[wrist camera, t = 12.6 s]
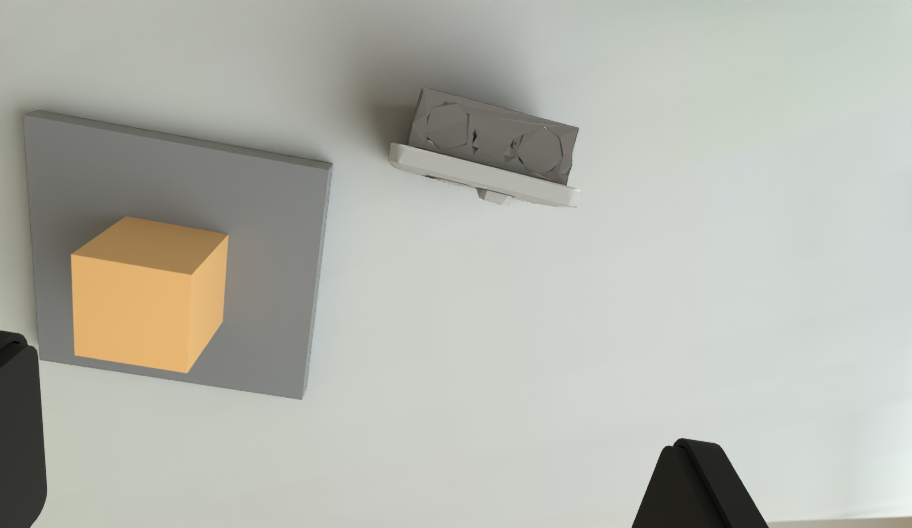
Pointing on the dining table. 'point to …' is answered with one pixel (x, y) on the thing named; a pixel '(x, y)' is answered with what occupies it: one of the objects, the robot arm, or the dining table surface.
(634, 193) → the dining table surface
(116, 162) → the plate
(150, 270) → the tan cardboard cube
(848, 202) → the dining table surface
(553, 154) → the electrical switch
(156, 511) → the dining table surface
